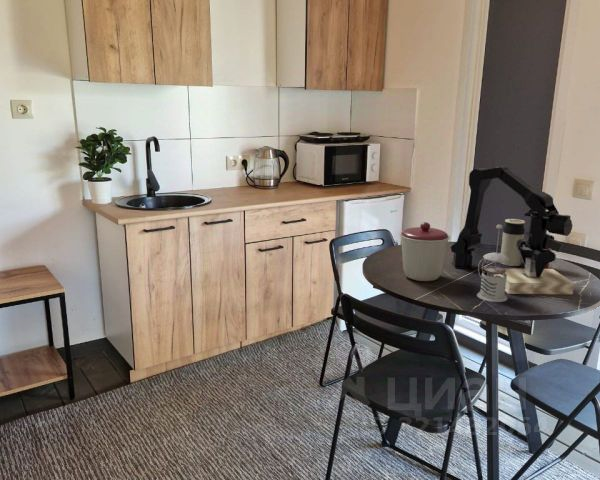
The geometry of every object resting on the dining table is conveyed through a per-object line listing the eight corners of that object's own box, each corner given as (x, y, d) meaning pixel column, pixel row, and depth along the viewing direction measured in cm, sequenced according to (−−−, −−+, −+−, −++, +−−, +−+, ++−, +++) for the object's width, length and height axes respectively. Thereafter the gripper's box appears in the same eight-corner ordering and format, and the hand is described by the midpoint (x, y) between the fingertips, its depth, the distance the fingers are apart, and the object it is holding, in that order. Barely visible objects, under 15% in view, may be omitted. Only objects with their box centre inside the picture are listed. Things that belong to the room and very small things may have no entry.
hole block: (508, 293, 177) (509, 282, 176) (492, 278, 192) (493, 268, 191) (572, 294, 177) (574, 283, 176) (551, 279, 192) (552, 268, 191)
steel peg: (527, 288, 183) (530, 261, 180) (522, 284, 187) (526, 257, 184) (538, 288, 183) (542, 261, 180) (533, 284, 187) (537, 257, 184)
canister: (455, 276, 194) (459, 222, 189) (431, 288, 181) (436, 230, 176) (412, 266, 206) (416, 215, 201) (388, 277, 193) (390, 222, 188)
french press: (491, 303, 168) (499, 229, 162) (466, 292, 178) (473, 221, 172) (514, 299, 172) (522, 226, 166) (488, 288, 182) (496, 219, 176)
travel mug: (524, 264, 210) (529, 221, 205) (512, 267, 205) (518, 223, 201) (507, 259, 216) (512, 217, 212) (495, 263, 212) (500, 220, 207)
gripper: (574, 237, 170) (568, 281, 174) (548, 224, 188) (543, 265, 192) (540, 236, 170) (534, 281, 174) (518, 224, 188) (513, 264, 192)
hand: (532, 272), depth 183 cm, fingers open, 9 cm apart
